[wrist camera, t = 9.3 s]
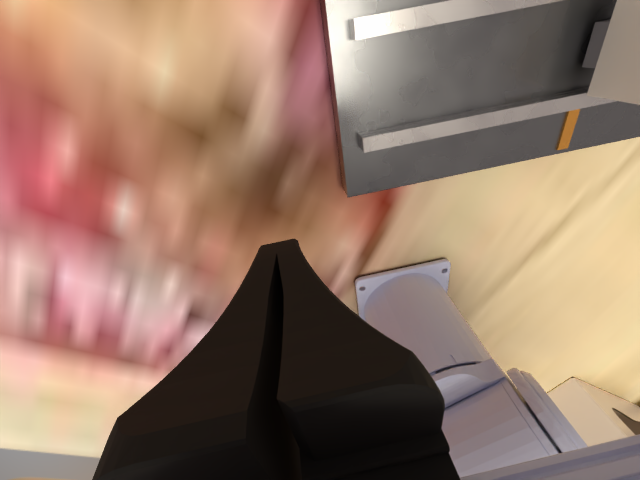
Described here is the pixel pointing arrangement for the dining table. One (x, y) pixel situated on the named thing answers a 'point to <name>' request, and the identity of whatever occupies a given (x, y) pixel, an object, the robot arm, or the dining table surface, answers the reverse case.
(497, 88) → the fader console
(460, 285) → the dining table surface
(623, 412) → the gable box
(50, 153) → the dining table surface
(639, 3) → the fader tab
